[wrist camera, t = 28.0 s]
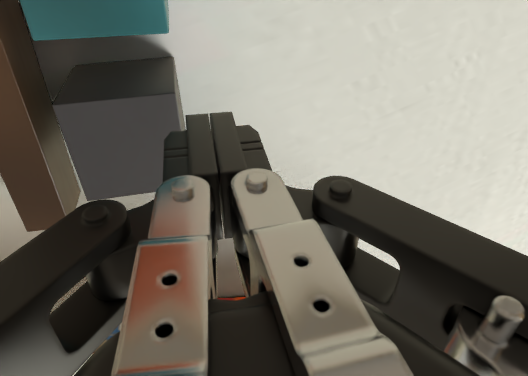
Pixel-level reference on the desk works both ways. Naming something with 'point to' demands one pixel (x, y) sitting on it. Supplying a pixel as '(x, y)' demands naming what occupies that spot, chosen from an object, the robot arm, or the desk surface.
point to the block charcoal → (119, 124)
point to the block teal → (94, 18)
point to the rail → (30, 131)
